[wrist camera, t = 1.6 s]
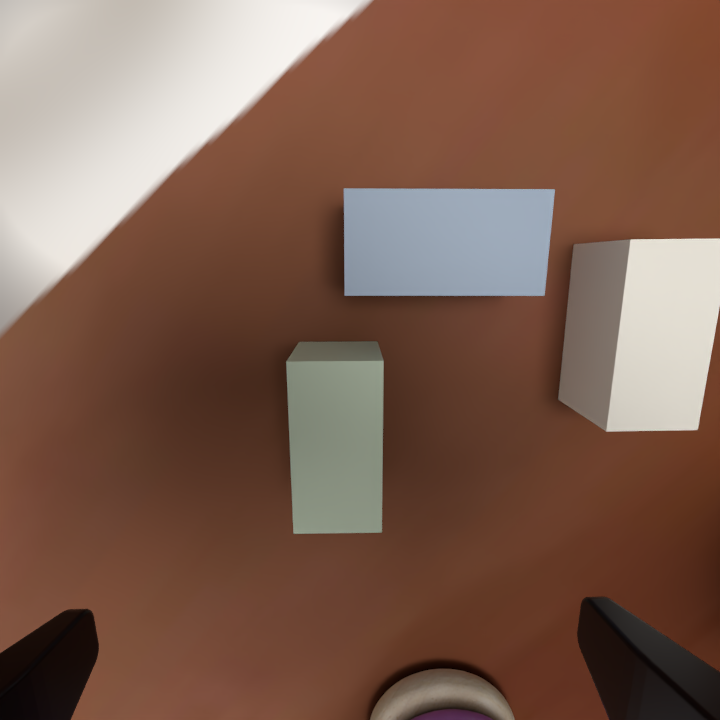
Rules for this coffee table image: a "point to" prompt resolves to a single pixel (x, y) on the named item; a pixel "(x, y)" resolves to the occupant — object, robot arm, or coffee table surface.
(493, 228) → the slate brick
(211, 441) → the coffee table surface
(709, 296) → the cream brick
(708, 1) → the coffee table surface
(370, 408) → the sage brick
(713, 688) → the robot arm
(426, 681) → the stacking toy
